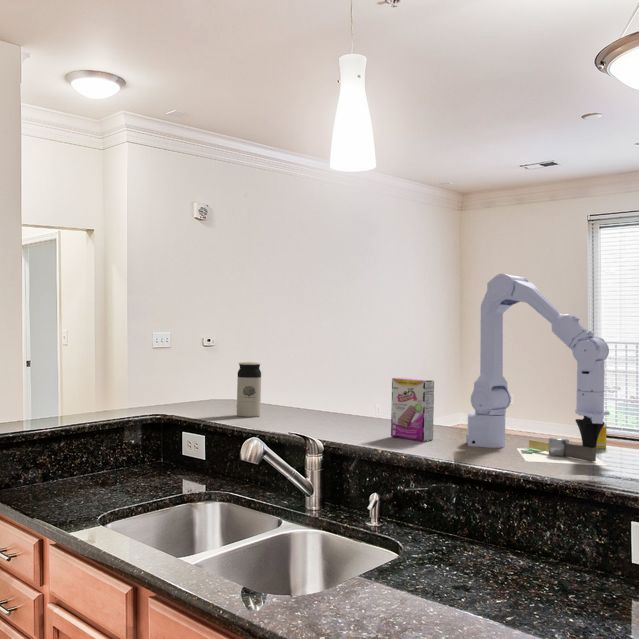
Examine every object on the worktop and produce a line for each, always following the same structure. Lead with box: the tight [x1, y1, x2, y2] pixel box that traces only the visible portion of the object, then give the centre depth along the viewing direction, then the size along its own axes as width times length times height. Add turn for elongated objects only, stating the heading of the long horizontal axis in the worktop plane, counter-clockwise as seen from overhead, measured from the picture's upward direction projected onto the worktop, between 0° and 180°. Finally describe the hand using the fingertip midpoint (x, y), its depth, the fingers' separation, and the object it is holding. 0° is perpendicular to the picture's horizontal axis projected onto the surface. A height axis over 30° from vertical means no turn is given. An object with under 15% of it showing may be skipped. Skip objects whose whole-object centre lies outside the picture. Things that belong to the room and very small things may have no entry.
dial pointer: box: [528, 437, 597, 462], centre depth 149 cm, size 17×4×4 cm, turn 33°
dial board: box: [515, 447, 609, 467], centre depth 149 cm, size 17×17×1 cm
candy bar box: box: [390, 377, 435, 442], centre depth 177 cm, size 11×5×16 cm, turn 47°
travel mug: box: [236, 361, 262, 418], centre depth 219 cm, size 8×8×18 cm
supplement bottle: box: [596, 415, 607, 450], centre depth 163 cm, size 5×5×10 cm
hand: (589, 451), depth 145 cm, fingers closed, pressing on dial pointer
